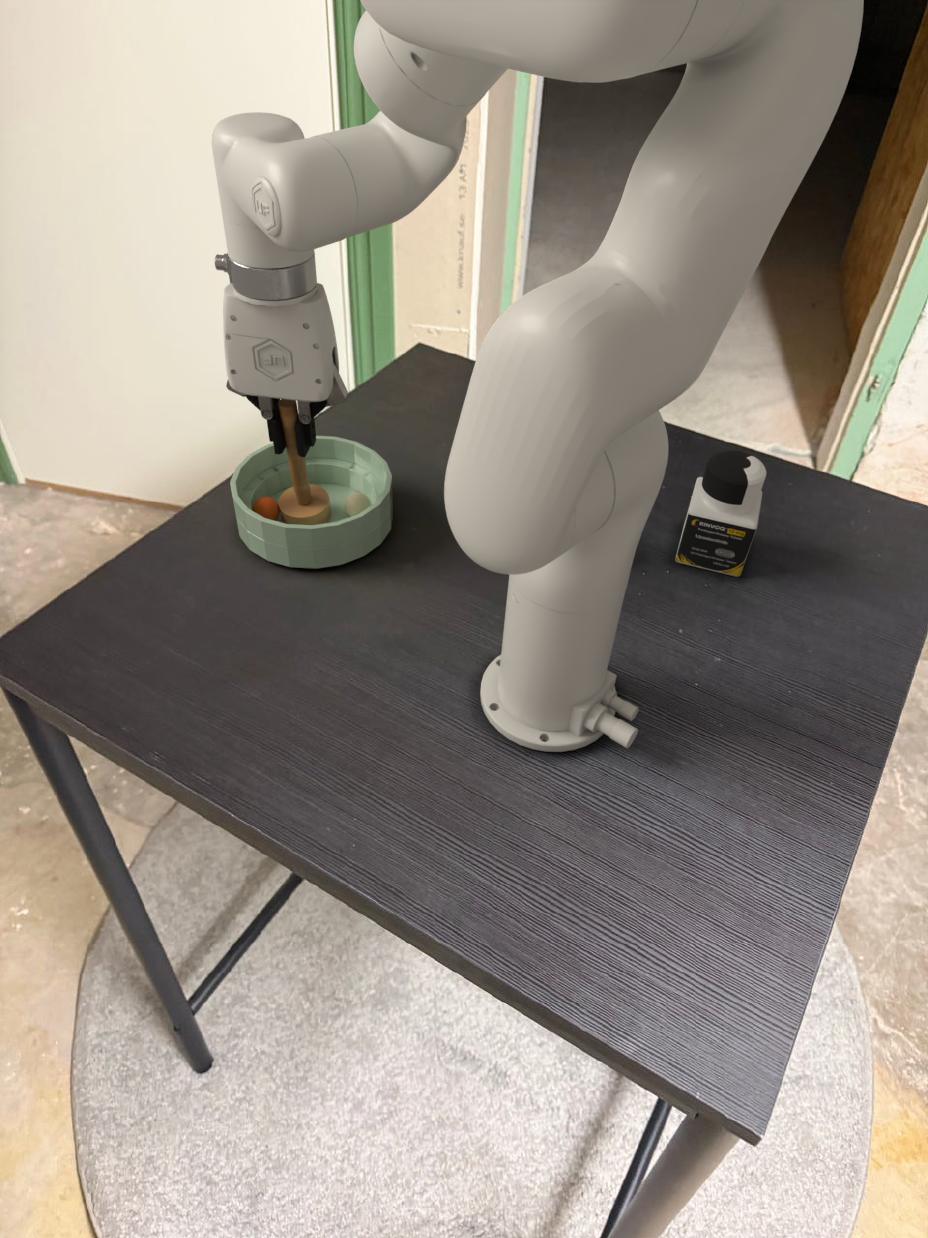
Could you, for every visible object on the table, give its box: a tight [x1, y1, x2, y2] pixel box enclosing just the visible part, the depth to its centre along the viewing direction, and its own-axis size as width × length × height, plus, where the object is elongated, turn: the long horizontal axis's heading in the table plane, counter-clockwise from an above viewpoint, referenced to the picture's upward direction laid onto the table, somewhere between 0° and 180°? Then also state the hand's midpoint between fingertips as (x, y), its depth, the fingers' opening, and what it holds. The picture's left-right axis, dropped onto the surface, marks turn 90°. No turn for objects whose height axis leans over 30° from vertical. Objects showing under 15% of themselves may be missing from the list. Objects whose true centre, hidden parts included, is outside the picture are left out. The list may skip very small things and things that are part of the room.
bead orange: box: [252, 497, 280, 521], centre depth 96 cm, size 3×3×3 cm
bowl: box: [229, 435, 394, 569], centre depth 96 cm, size 17×17×6 cm
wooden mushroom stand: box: [278, 399, 331, 525], centre depth 92 cm, size 6×6×15 cm
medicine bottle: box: [674, 449, 767, 578], centre depth 93 cm, size 7×7×12 cm
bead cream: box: [345, 493, 371, 517], centre depth 97 cm, size 3×3×3 cm
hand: (293, 447), depth 90 cm, fingers closed on wooden mushroom stand
